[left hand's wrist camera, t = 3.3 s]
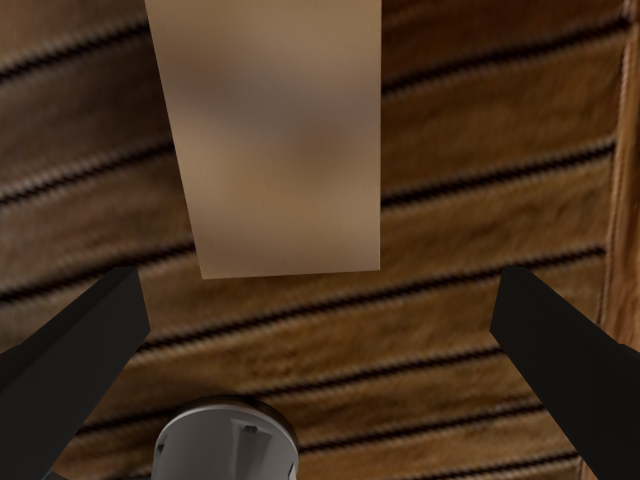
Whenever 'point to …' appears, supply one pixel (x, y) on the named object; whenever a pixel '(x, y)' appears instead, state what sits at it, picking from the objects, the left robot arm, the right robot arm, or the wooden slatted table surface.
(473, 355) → the wooden slatted table surface
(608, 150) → the wooden slatted table surface
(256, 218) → the cabinet
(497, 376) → the wooden slatted table surface
